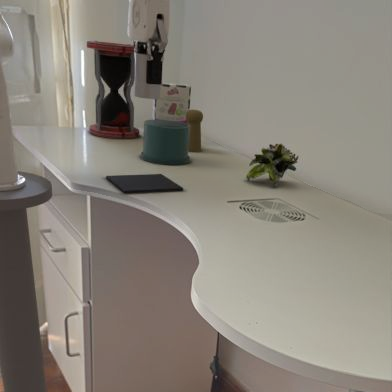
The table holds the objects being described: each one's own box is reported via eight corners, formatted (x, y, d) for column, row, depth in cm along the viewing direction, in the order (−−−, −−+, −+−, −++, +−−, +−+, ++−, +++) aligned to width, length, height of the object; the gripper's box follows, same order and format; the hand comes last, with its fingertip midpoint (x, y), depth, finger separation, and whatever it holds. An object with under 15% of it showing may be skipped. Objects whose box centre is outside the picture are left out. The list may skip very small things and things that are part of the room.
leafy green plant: (267, 200, 125) (297, 162, 122) (279, 205, 115) (312, 164, 112) (235, 172, 121) (266, 132, 118) (245, 175, 111) (279, 131, 108)
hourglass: (117, 141, 144) (117, 45, 131) (78, 131, 151) (74, 39, 137) (148, 135, 156) (151, 47, 142) (111, 127, 163) (111, 41, 149)
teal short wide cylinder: (152, 165, 123) (154, 128, 118) (133, 153, 132) (134, 118, 127) (198, 164, 128) (201, 128, 123) (176, 153, 138) (178, 119, 133)
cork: (205, 150, 145) (208, 111, 139) (194, 152, 141) (197, 112, 135) (189, 146, 148) (192, 107, 141) (177, 148, 143) (180, 108, 137)
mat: (124, 193, 100) (124, 190, 99) (106, 178, 108) (106, 175, 108) (183, 190, 106) (183, 187, 106) (161, 176, 114) (161, 173, 114)
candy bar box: (184, 140, 155) (188, 84, 146) (187, 143, 151) (192, 86, 142) (150, 138, 152) (152, 81, 143) (153, 142, 148) (155, 83, 139)
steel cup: (140, 98, 94) (141, 54, 90) (130, 94, 98) (130, 52, 94) (164, 99, 96) (166, 56, 92) (154, 95, 100) (155, 54, 96)
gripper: (115, -32, 90) (115, 76, 100) (150, -37, 78) (147, 86, 88) (151, -26, 93) (148, 78, 103) (190, -30, 81) (182, 88, 91)
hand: (147, 81), depth 96 cm, fingers closed on steel cup, 5 cm apart
